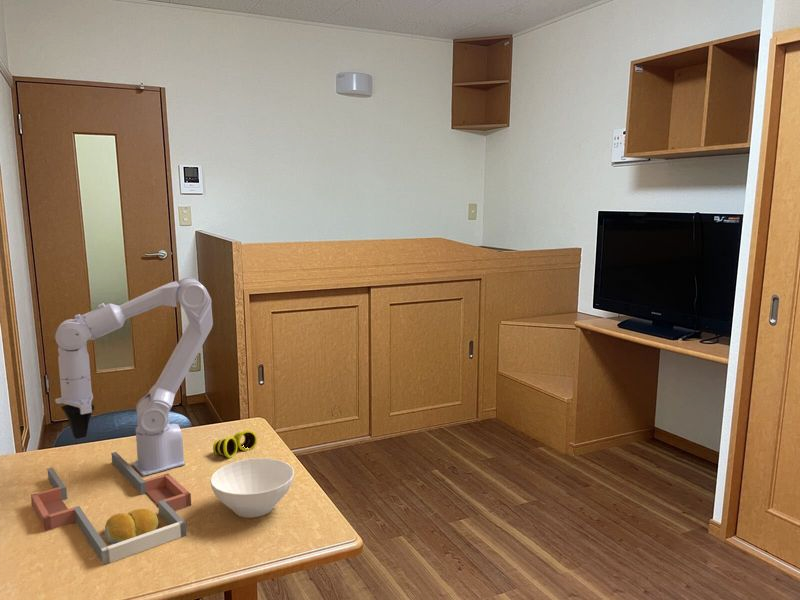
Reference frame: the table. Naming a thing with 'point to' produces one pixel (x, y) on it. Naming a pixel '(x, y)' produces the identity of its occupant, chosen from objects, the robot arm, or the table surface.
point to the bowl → (252, 485)
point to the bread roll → (130, 525)
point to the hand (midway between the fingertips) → (80, 437)
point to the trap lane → (57, 515)
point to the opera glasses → (235, 444)
